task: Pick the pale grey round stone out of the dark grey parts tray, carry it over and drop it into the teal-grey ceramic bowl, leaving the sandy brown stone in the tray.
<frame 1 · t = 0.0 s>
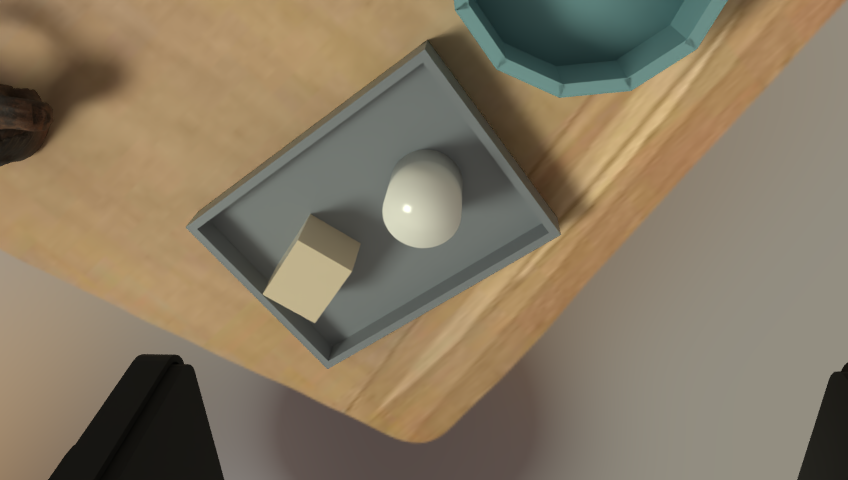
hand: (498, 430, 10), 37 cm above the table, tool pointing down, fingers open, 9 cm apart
pottery mug: (1, 93, 49), on the table
pale stone: (426, 183, 49), point 1 cm above the table, touching parts tray
sand stone: (318, 254, 52), point 1 cm above the table, touching parts tray
parts tray: (374, 215, 51), on the table
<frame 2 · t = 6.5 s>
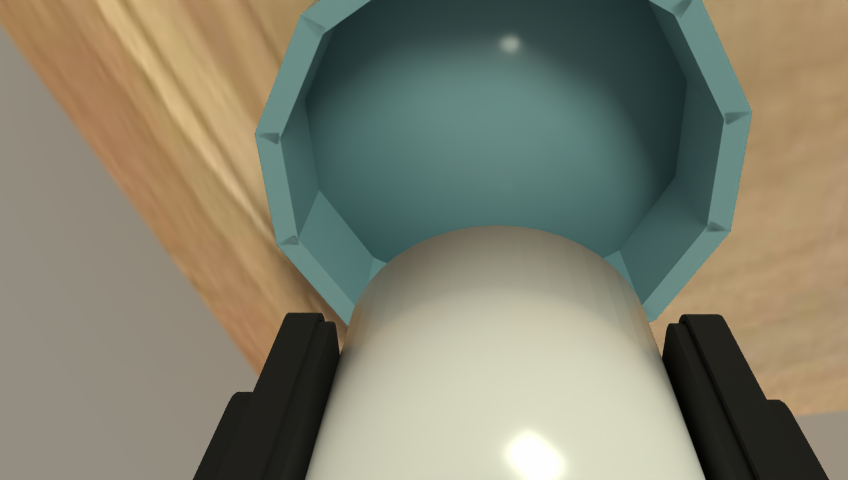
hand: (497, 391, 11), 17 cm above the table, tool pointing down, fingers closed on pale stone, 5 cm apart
pale stone: (495, 358, 12), point 16 cm above the table, touching gripper
bowl: (492, 131, 27), on the table
when the fingers open (4 cm above the table, at t = 9.7 s): pale stone drops 3 cm, resting on bowl.
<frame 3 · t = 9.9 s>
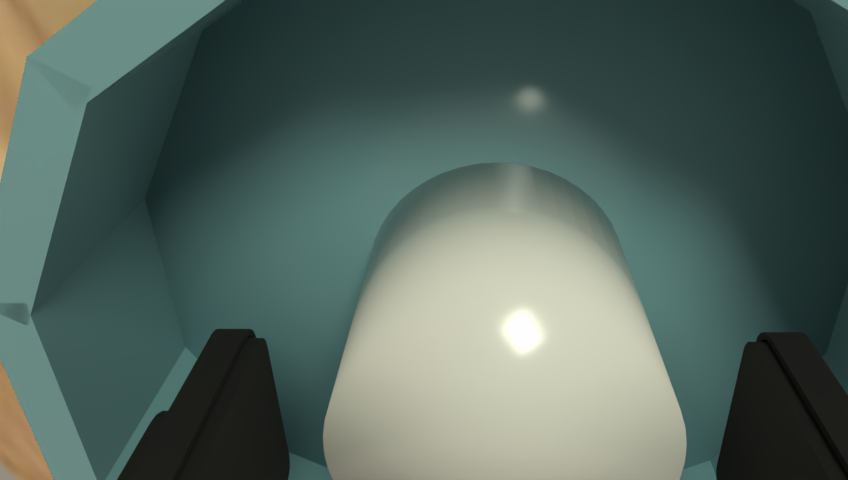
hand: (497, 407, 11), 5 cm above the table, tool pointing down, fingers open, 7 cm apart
pale stone: (494, 279, 14), point 1 cm above the table, touching bowl
bowl: (492, 257, 15), on the table
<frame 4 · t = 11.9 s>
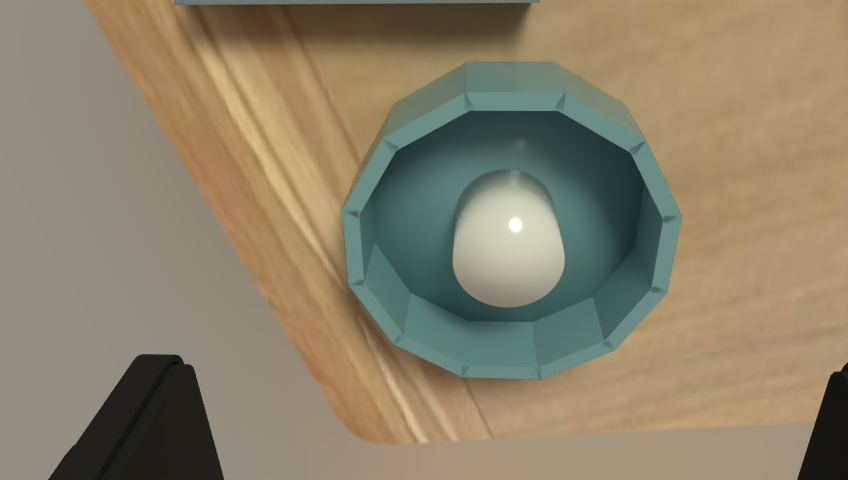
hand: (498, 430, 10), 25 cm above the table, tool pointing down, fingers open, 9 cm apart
pale stone: (504, 214, 36), point 1 cm above the table, touching bowl
bowl: (503, 207, 36), on the table
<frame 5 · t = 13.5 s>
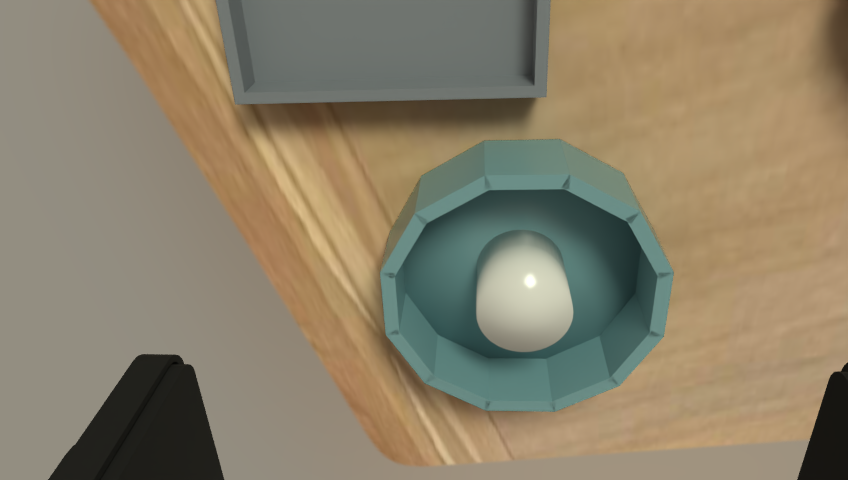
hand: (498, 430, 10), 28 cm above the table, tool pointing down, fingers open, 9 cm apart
pale stone: (520, 267, 41), point 1 cm above the table, touching bowl
bowl: (518, 260, 41), on the table
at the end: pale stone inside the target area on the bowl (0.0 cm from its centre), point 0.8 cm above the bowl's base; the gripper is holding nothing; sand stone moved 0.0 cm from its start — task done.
